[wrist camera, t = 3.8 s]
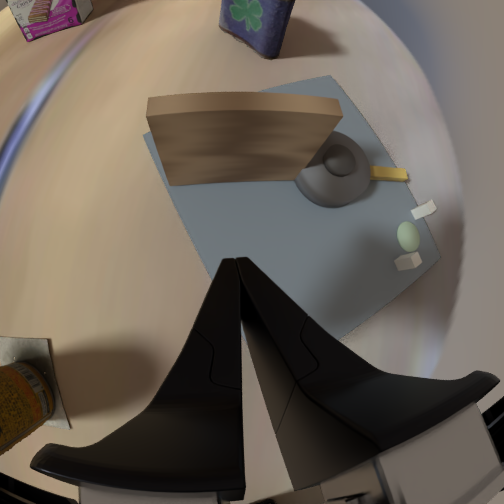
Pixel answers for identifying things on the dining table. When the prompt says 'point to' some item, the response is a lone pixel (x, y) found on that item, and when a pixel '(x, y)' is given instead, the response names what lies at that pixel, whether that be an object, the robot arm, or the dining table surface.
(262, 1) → the flask
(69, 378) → the dining table surface
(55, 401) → the condiment
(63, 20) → the candy bar box
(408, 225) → the stand
